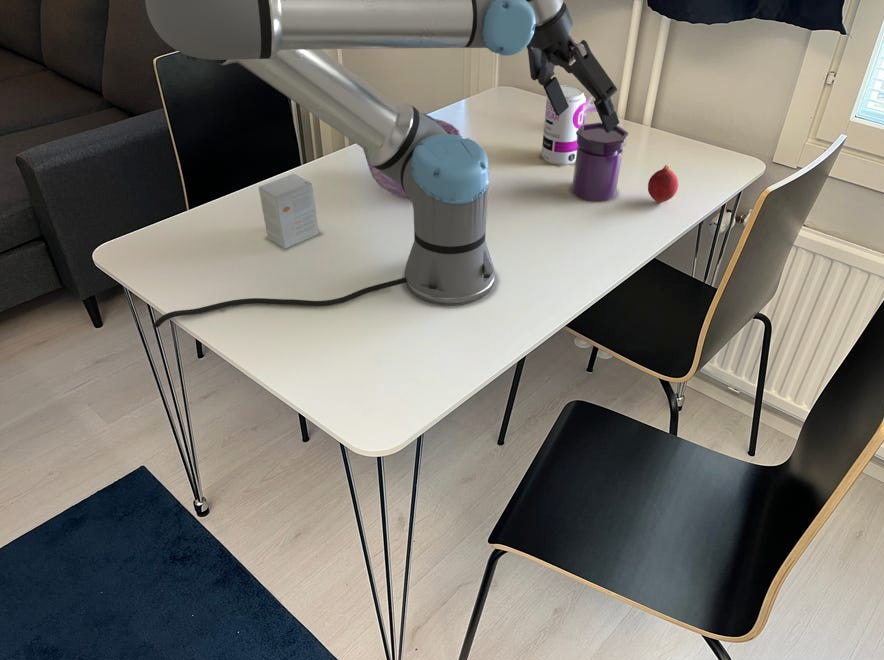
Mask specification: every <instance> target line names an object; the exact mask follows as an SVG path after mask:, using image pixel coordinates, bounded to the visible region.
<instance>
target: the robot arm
mask: <svg viewBox="0 0 884 660" xmlns="http://www.w3.org/2000/svg"><path fill="white" fill-rule="evenodd" d="M144 1H145V2H144V3H145V8H146V12H147V16H148V19H149V21H150V23H151V25H152V27H153V29H154V31H155V32H156V33H157V35H158V36H159V37H160V38H161V40H163V42H165V43H166V45H168V46H170V47H171V48H172V49H174V50H175V51H177V52H179V53H181V54H183V55H185V56H188V57H191V58H195V59H201V60H209V61H210V60H213V61H214V62H216V63H217V64H219V65H221V66H227V65H230V64H238V65H240V66H241V67H242V68H244V69H245V70H247V71H248V72H250V73H252V75H254V76H256V77H257V78H259V79H260V80H262V82H264V83H266V84H267V85H269V86H271V87H272V88H273V89H275V90H277V91H278V92H279V93H281V94H282V95H284V96H285V97H287V98H288V99H290V100H291V101H293V102H294V103H296V104H297V105H298V106H300V107H301V108H303V109H304V110H306V111H308V112H309V113H310V114H311V115H313V116H315V117H316V118H318V119H319V120H320V121H322V122H324V123H326V125H328V126H329V127H331V128H332V129H334V130H335V131H336V132H338V133H339V134H341V135H342V136H344V137H346V138H347V139H349V140H351V141H352V142H353V143H355V144H356V145H358V146H359V147H361V148H362V150H363V149H364V150H365V154H364V157H365V160H366V163H367V162H368V163H369V164H370V165H372V166H373V167H375V168H376V169H378V170H379V171H381V172H382V173H384V174H385V175H387V176H388V177H390V178H391V179H393V180H394V181H396V182H397V183H398V184H399V185H400V186H401V188H402V189H403V190H404V192H405V194H406V195H407V196H408V199H409V201H410V202H411V204H412V208H413V225H414V226H413V233H414V234H413V235H414V238H413V243H412V245H411V249H410V252H409V254H408V257H407V261H406V264H405V267H404V277H401V278H398V279H397V278H396V279H394V280H390V281H386V282H382V283H378V284H374V285H371V286H368V287H365V288H364V287H363V288H362V289H358V290H357V291H354V292H351V293H350V294H346V295H344V296H341V297H337V298H333V299H325V300H307V299H289V298H287V299H286V298H268V297H267V298H266V297H265V298H264V297H260V298H259V297H251V298H239V299H233V300H226V301H222V302H218V303H213V304H210V305H205V306H202V307H197V308H189V309H181V310H179V309H178V310H174V311H170V312H167V313H165V314H163V315H161V316H160V317H159V318H158V319H157V320H155V322H154V323H153V325H152V328H154V329H156V328H159V327H160V326H161V325H162V324H163V323H165V322H166V321H168V320H170V319H172V318H177V317H185V316H194V315H200V314H203V313H208V312H211V311H212V312H213V311H216V310H220V309H224V308H228V307H235V306H241V305H255V304H256V305H257V304H258V305H260V304H261V305H262V304H263V305H281V306H302V307H328V306H335V305H339V304H340V305H341V304H342V303H347V302H349V301H352V300H354V299H356V298H359V297H361V296H363V295H366V294H369V293H373V292H376V291H379V290H384V289H387V288H391V287H396V286H399V285H403V284H405V287H406V289H407V290H408V292H409V293H411V295H413V296H415V297H416V298H418V299H420V300H422V301H425V302H426V303H430V304H435V305H440V306H441V305H442V306H459V305H464V304H469V303H473V302H476V301H478V300H480V299H482V298H484V297H485V296H486V295H488V294H489V293H490V292H491V291H492V289H493V287H494V285H495V277H496V276H495V267H494V263H493V259H492V257H491V255H490V250H489V247H488V245H487V242H486V234H487V233H486V232H487V231H486V230H487V213H488V198H489V197H488V194H489V184H490V183H489V182H490V171H489V159H488V155H487V153H486V151H485V150H484V148H483V147H482V146H481V145H480V144H479V143H477V142H476V141H474V140H473V139H471V138H467V137H466V138H463V136H462V135H461V136H459V135H453V134H448V133H447V132H446V131H445V130H444V129H443V127H442V126H441V125H440V123H439V122H438V121H436V120H435V119H436V118H434V117H433V116H430V115H428V114H427V113H425V112H422V111H420V110H419V109H417V108H416V106H414V105H412V104H411V103H409V102H408V101H406V100H405V101H403V100H401V101H397V102H393V101H391V100H389V99H388V98H387V97H386V96H384V95H383V94H382V93H380V92H379V91H378V90H376V89H375V88H374V87H372V86H371V85H370V84H368V83H367V82H365V81H364V79H362V78H360V77H359V76H358V75H356V74H355V73H354V72H352V71H351V70H350V69H348V68H347V67H346V66H344V65H343V64H342V63H341V62H339V61H338V60H336V59H335V58H334V57H333V56H331V55H329V53H327V51H325V50H374V49H376V50H379V49H380V50H382V49H383V50H386V49H388V50H389V49H465V48H466V49H488V50H489V51H490V52H492V53H494V54H498V55H500V56H504V57H505V56H506V57H507V56H509V57H510V56H515V55H517V54H519V53H520V52H522V51H524V50H525V49H527V56H528V64H529V73H530V79H531V80H533V81H536V80H537V82H538V84H539V85H540V86H542V87H543V90H544V92H545V94H546V97H547V96H548V98H549V101H550V103H551V105H552V107H553V109H554V112H555V114H556V115H557V116H560V115H561V114H562V113H563V112H564V111H565V110H566V109H567V108H568V107H569V105H568V103H567V101H566V98H565V96H564V94H563V91H562V89H561V87H560V86H561V85H560V83H559V80H558V78H557V77H556V76H554V75H555V74H556V72H555V71H554V70H555V66H557V67H558V66H559V67H560V68H563V69H564V71H565V72H566V73H567V74H571V75H573V76H574V77H575V78H576V79H577V81H578V82H579V83H580V84H581V85H582V86H583V87H584V88H585V90H586V91H587V92H588V93H589V94H590V95H591V96H592V98H594V101H593V104H594V105H595V107H596V109H597V112H596V113H597V114H598V116H599V119H600V123H602V124H603V127H604V129H605V132H607V133H609V132H610V131H611V130H613V129H614V128H615V127H616V126H619V124H620V120H619V117H618V114H617V111H616V107H615V104H614V102H613V99H612V97H613V96H614V95H615V94H616V93H617V92H618V88H617V86H616V85H615V83H614V82H613V80H612V79H611V78H610V76H609V74H608V73H607V72H606V70H604V68H603V67H602V65H601V64H600V62H599V61H598V59H597V58H596V56H595V55H594V54H593V52H592V50H591V48H590V46H589V44H588V42H587V40H585V39H581V41H580V42H578V43H577V42H575V41H574V39H573V38H572V36H571V31H572V28H573V20H572V19H573V18H572V17H571V14H570V12H569V9H568V6H567V4H566V3H565V2H564V0H144ZM368 163H367V164H368Z"/></svg>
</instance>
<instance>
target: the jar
mask: <svg viewBox="0 0 884 660" xmlns="http://www.w3.org/2000/svg"><path fill="white" fill-rule="evenodd" d="M576 135H577V140H576V141H577V144H578V145H577V152H576V160H575V161H574V167H573V168H574V169H573V176H572V184H571V192H572V194H573V195H574V196H575V197H577V198H579V199H581V200H584V201H589V202H606V201H609V200H612V199H614V197H615V196H616V193H617V189H618V182H619V176H620V171H621V164H622V159H623V153H624V148H625V147H626V144H627V138H628V136H629V132H628V131H627V130H625V129H623V127H621V126H619V125H617V126H616V127H615V128H614V129H613V130H611V131H610V132H609V133H607V132H605V129H604V127H603V124H602V122H592V123H587V124H586V123H585V125H583V124H582V125H581V127H580V128H579V129H578V130H577V132H576Z"/></svg>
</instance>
